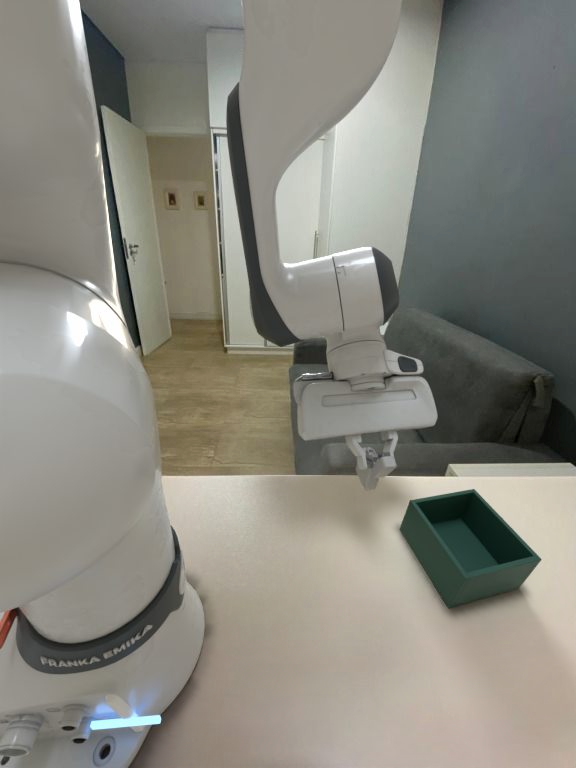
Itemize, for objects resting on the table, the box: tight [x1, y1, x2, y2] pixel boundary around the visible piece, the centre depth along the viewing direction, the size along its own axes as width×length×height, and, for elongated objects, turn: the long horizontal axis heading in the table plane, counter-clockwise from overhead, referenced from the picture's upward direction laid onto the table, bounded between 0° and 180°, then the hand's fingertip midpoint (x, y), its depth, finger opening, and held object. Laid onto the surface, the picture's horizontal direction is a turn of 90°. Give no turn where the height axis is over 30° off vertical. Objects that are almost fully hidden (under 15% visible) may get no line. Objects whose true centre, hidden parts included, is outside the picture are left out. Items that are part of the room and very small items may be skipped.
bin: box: [399, 488, 543, 609], centre depth 43 cm, size 11×11×6 cm
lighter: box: [355, 446, 398, 491], centre depth 43 cm, size 7×2×8 cm, turn 9°
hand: (377, 467), depth 42 cm, fingers closed on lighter, 2 cm apart
